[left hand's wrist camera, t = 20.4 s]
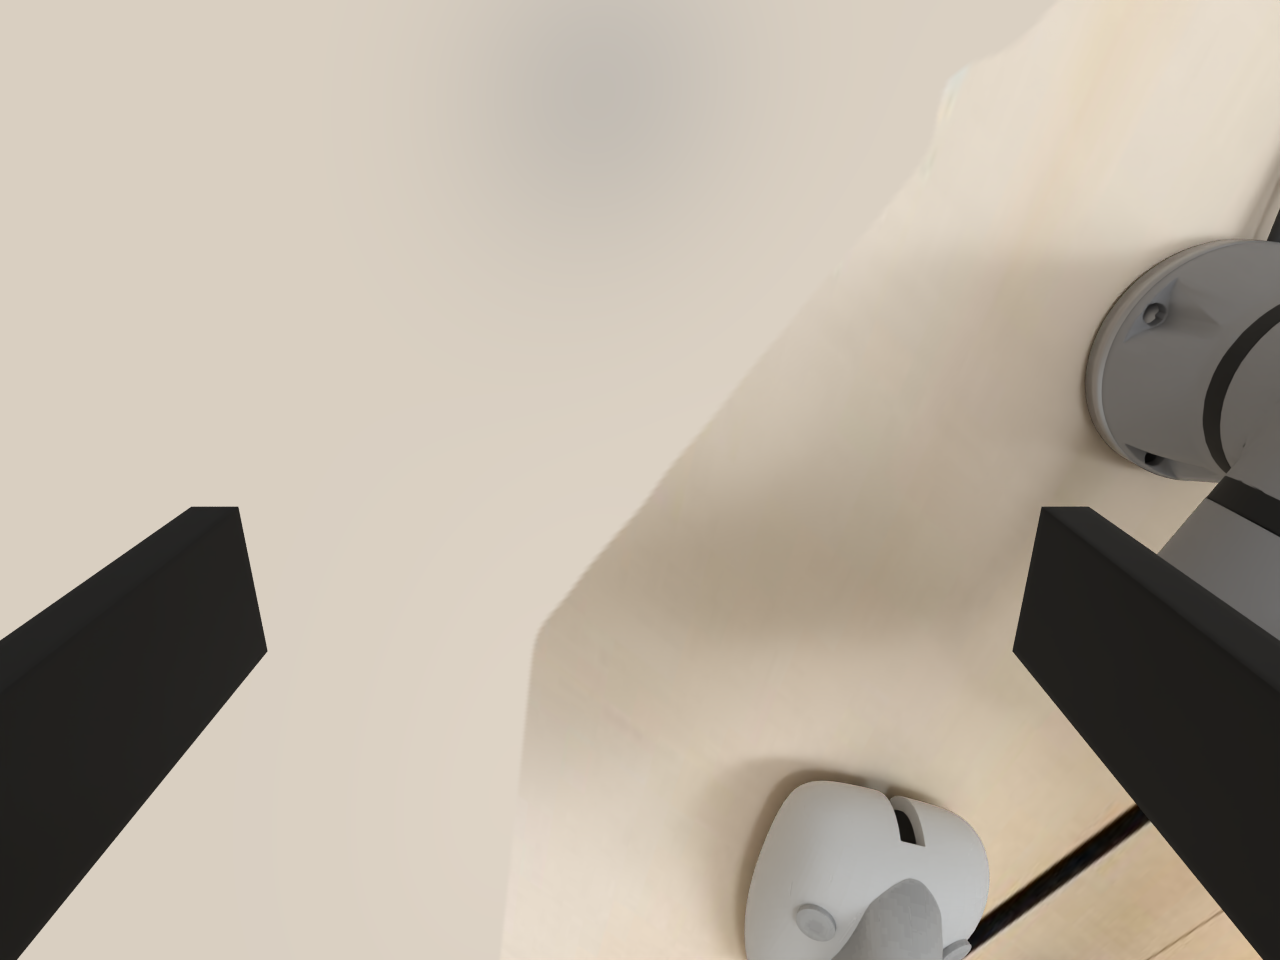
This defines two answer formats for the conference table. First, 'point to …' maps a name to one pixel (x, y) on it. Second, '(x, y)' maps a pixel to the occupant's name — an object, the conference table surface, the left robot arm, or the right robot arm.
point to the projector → (865, 879)
